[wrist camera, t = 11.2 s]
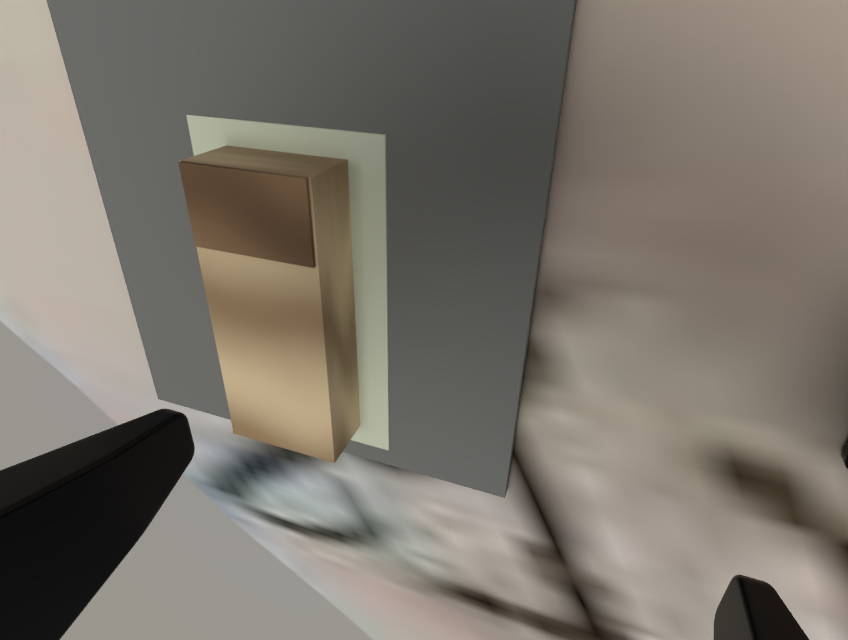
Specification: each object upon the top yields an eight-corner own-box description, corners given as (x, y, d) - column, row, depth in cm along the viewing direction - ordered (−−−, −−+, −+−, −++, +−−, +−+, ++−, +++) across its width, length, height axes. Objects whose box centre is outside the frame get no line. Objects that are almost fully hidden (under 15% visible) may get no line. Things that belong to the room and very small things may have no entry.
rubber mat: (716, -981, 8) (720, -1044, 8) (507, 489, 25) (504, 499, 24) (-110, -620, 14) (-138, -644, 13) (164, 393, 30) (157, 399, 29)
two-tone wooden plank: (360, 425, 25) (333, 465, 23) (266, 400, 26) (231, 435, 24) (347, 159, 19) (308, 179, 17) (226, 145, 20) (176, 161, 18)
